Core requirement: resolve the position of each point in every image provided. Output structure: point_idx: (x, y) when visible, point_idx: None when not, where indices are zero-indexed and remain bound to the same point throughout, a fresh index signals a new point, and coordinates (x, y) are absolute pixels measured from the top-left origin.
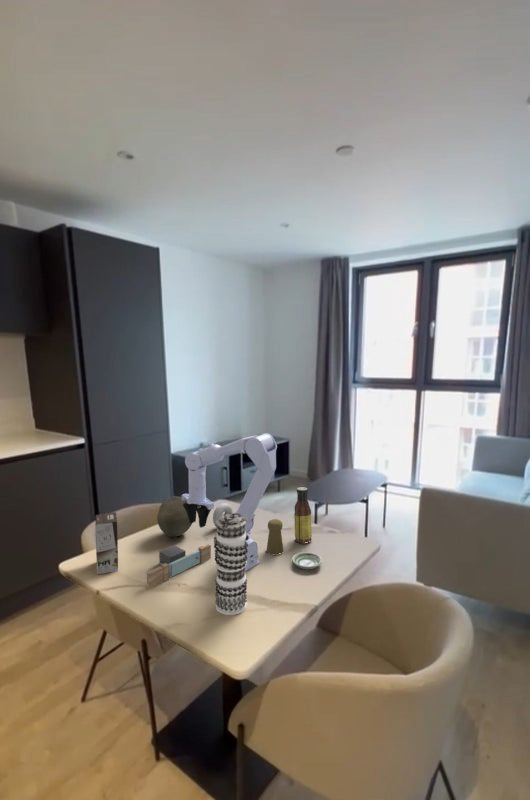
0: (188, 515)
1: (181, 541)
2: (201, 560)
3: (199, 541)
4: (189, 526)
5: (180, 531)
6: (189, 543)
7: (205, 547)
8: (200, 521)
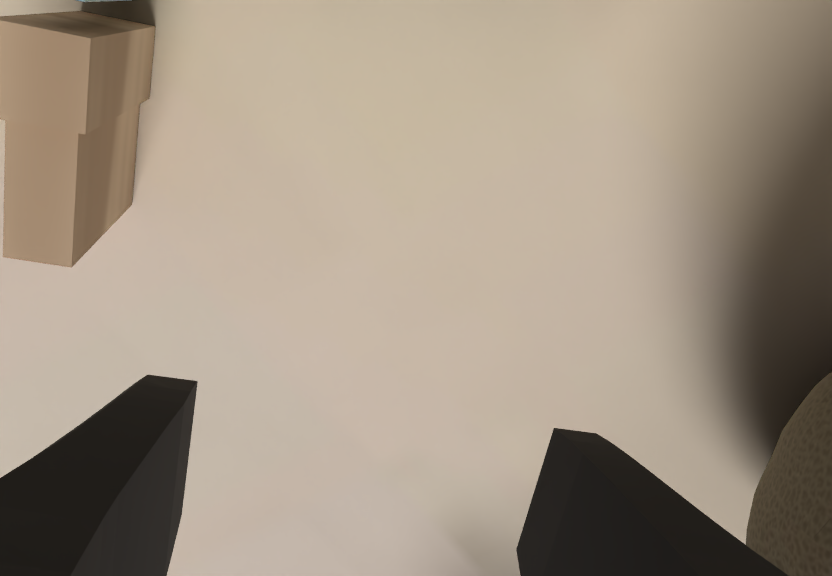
0: (714, 550)
1: (721, 352)
2: (71, 12)
3: (514, 458)
4: None
5: (802, 404)
6: (597, 362)
7: (9, 136)
8: (48, 449)
